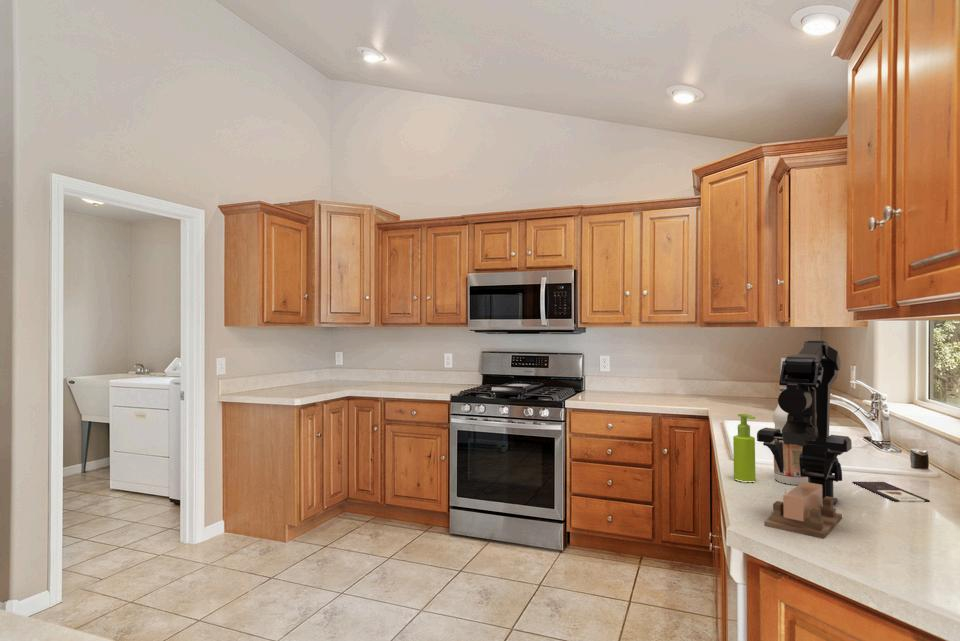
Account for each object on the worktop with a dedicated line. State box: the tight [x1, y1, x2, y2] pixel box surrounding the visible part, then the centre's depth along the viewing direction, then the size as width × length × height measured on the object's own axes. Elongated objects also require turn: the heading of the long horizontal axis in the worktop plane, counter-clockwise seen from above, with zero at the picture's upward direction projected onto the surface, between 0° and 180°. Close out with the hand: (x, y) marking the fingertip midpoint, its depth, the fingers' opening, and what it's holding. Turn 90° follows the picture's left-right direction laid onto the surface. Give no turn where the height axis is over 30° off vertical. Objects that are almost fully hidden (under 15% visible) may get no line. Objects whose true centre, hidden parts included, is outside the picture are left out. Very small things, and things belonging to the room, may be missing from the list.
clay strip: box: [782, 482, 823, 521], centre depth 130 cm, size 16×4×5 cm, turn 135°
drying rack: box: [763, 496, 843, 539], centre depth 130 cm, size 18×12×5 cm, turn 136°
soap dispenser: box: [732, 413, 756, 482], centre depth 166 cm, size 6×7×20 cm
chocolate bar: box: [851, 481, 931, 503], centre depth 154 cm, size 9×1×18 cm
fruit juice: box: [772, 386, 808, 486], centre depth 165 cm, size 9×9×28 cm
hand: (803, 475), depth 130 cm, fingers open, 9 cm apart
